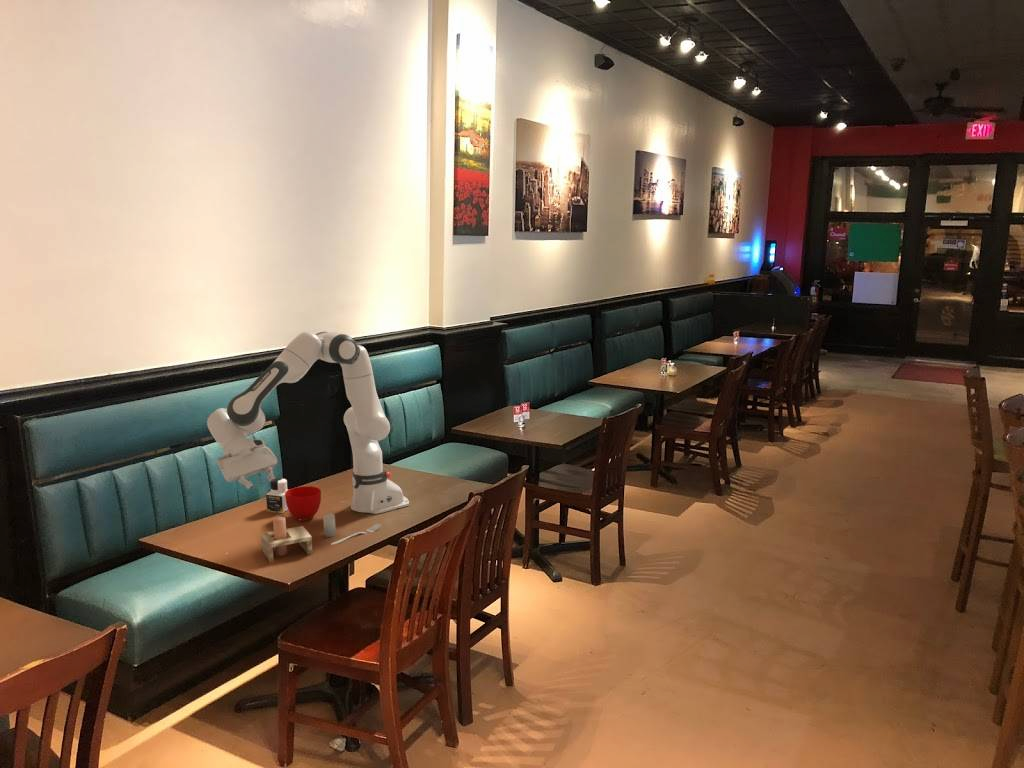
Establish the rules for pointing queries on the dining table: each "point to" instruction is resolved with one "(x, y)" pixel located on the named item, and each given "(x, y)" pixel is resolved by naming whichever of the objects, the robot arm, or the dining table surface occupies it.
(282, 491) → the medicine bottle
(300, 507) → the ceramic cup
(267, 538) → the bridge
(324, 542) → the dining table surface
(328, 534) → the short dowel
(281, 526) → the long dowel
